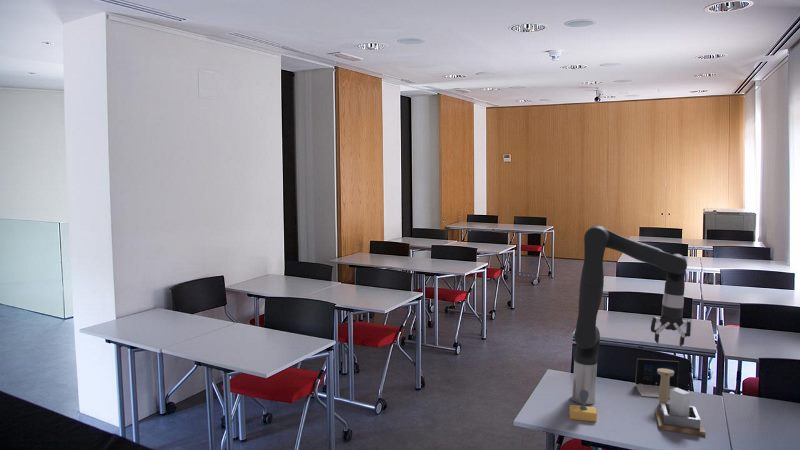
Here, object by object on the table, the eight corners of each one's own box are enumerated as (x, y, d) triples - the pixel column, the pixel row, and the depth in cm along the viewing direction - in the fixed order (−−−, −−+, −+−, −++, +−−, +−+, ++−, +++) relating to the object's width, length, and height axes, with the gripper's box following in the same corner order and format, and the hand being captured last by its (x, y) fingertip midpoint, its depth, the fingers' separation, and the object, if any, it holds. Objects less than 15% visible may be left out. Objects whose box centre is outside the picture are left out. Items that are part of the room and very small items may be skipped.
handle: (672, 408, 240) (675, 373, 239) (655, 406, 242) (658, 371, 240) (670, 403, 245) (673, 369, 243) (654, 401, 247) (656, 367, 245)
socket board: (659, 429, 222) (660, 415, 221) (655, 412, 236) (656, 399, 235) (705, 436, 217) (706, 422, 216) (698, 418, 231) (699, 405, 230)
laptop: (641, 397, 252) (643, 368, 250) (635, 385, 264) (636, 358, 262) (685, 400, 249) (687, 371, 247) (676, 388, 261) (679, 361, 259)
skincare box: (689, 422, 224) (691, 392, 223) (681, 424, 223) (683, 394, 221) (675, 415, 230) (678, 386, 228) (667, 418, 228) (670, 388, 227)
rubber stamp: (594, 415, 233) (596, 387, 231) (596, 422, 227) (598, 393, 226) (569, 413, 235) (570, 384, 233) (570, 419, 229) (571, 390, 228)
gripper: (654, 304, 227) (650, 344, 229) (694, 309, 222) (689, 349, 224) (652, 300, 234) (648, 338, 236) (691, 304, 229) (687, 343, 231)
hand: (668, 344), depth 230 cm, fingers open, 8 cm apart
